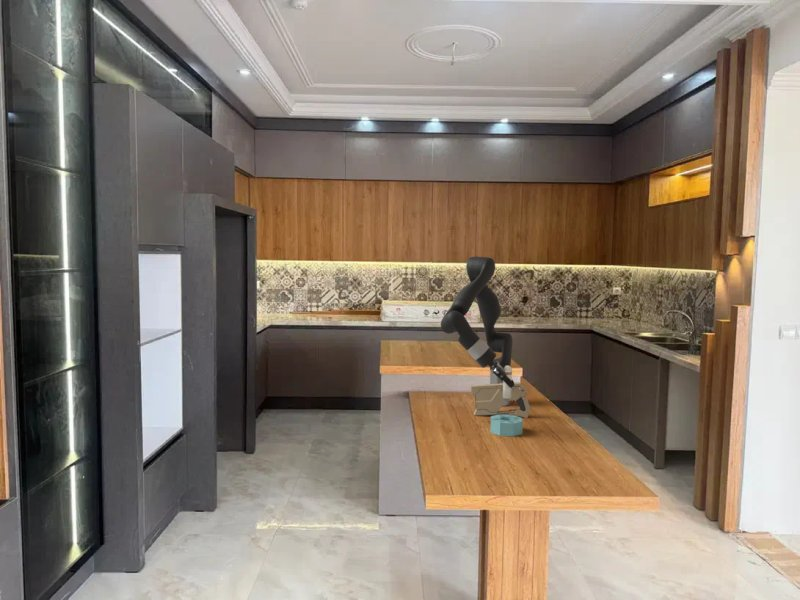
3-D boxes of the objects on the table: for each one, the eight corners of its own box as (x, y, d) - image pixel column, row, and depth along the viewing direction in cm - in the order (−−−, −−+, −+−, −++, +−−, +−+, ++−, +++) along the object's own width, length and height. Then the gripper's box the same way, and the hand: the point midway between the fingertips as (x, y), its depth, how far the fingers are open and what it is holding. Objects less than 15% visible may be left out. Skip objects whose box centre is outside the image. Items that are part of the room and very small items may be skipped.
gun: (530, 415, 244) (528, 381, 243) (531, 418, 241) (529, 383, 240) (473, 418, 247) (470, 384, 246) (473, 420, 243) (471, 386, 242)
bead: (490, 426, 229) (490, 413, 228) (521, 427, 227) (521, 415, 226) (490, 435, 217) (490, 422, 216) (522, 437, 215) (523, 424, 214)
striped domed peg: (502, 396, 223) (503, 364, 222) (511, 396, 222) (511, 364, 221) (502, 398, 219) (503, 366, 218) (511, 398, 219) (512, 366, 218)
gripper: (488, 349, 214) (520, 382, 212) (488, 343, 227) (519, 375, 226) (474, 362, 215) (506, 396, 214) (475, 356, 229) (505, 387, 228)
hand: (512, 385), depth 220 cm, fingers closed on striped domed peg, 3 cm apart
